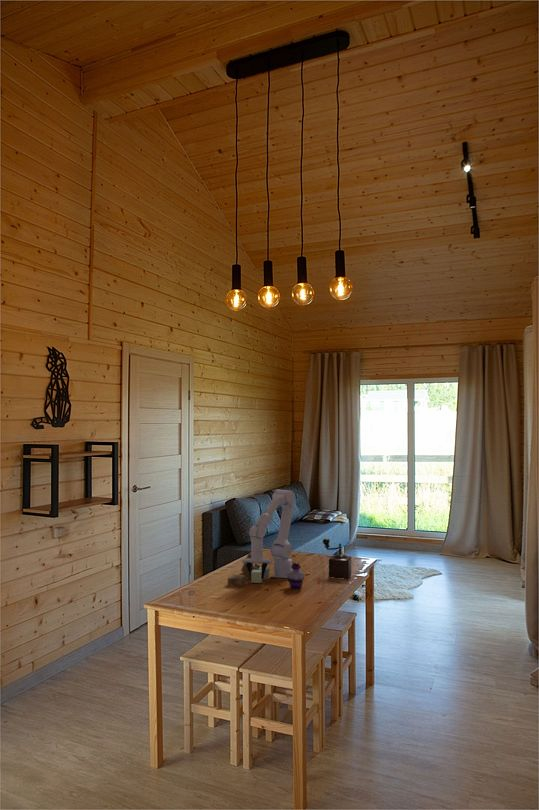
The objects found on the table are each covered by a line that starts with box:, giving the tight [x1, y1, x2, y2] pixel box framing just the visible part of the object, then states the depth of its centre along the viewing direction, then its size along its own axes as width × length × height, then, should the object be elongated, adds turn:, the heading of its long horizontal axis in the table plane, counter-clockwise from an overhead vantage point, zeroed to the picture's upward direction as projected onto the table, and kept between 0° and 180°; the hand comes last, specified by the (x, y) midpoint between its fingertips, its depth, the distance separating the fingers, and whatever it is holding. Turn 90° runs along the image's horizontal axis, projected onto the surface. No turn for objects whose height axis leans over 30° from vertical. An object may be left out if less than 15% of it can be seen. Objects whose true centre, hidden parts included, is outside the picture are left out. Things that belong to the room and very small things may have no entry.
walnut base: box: [227, 574, 247, 588], centre depth 262 cm, size 7×7×4 cm
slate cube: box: [258, 566, 271, 580], centre depth 274 cm, size 5×5×5 cm
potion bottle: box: [287, 561, 306, 590], centre depth 257 cm, size 9×9×12 cm
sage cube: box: [250, 570, 264, 584], centre depth 266 cm, size 5×5×5 cm
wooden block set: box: [241, 552, 261, 580], centre depth 281 cm, size 18×9×10 cm, turn 176°
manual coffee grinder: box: [322, 538, 352, 580], centre depth 280 cm, size 16×11×18 cm
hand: (257, 578), depth 266 cm, fingers closed on sage cube, 5 cm apart
